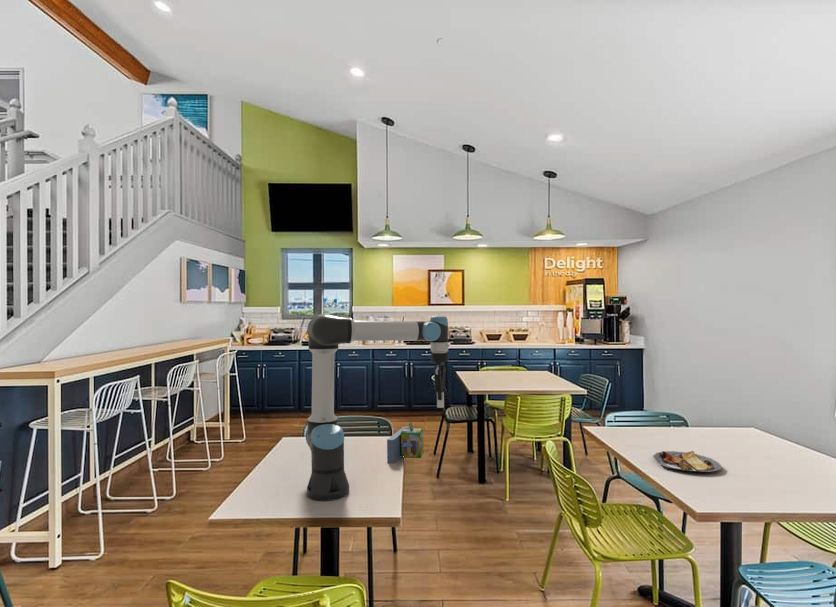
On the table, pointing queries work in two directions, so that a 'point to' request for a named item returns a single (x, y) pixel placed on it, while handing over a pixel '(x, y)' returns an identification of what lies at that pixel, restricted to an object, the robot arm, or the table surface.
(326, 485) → the robot arm
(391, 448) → the grayish blue board
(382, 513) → the table surface
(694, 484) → the table surface
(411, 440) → the chalk box
